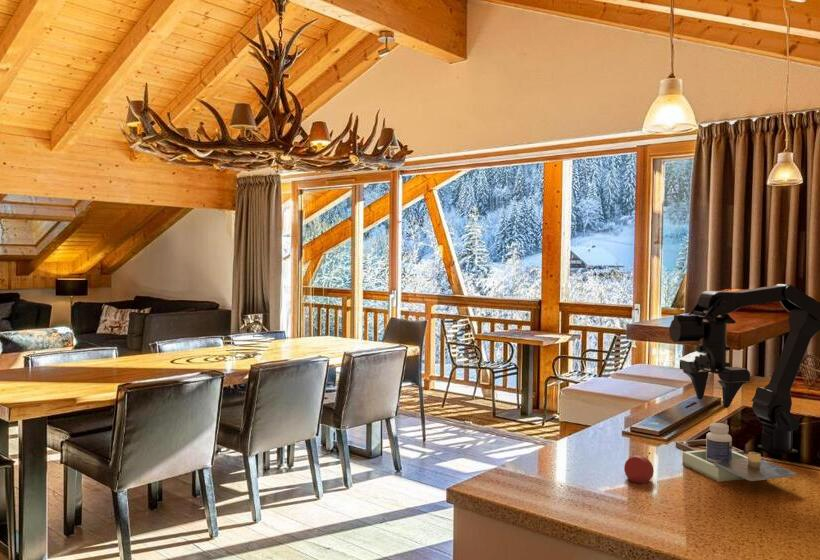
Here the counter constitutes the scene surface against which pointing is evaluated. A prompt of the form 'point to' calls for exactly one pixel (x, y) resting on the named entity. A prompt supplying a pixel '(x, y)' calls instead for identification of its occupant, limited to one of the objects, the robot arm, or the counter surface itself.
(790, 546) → the counter surface
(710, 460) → the pill bottle
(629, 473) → the fruit
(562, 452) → the counter surface
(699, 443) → the frame
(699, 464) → the box
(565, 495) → the counter surface
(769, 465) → the lid
